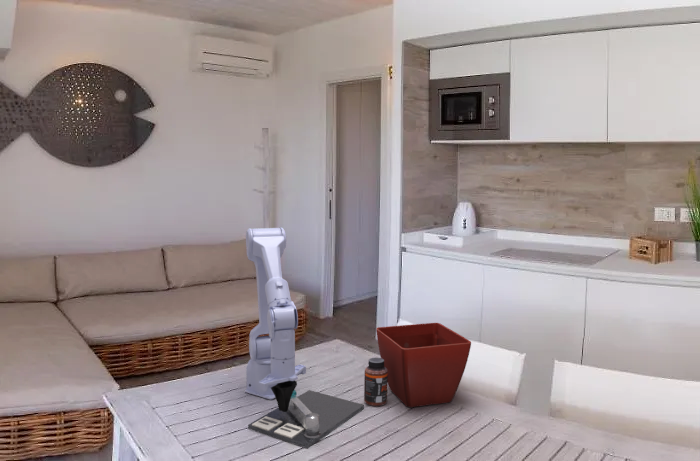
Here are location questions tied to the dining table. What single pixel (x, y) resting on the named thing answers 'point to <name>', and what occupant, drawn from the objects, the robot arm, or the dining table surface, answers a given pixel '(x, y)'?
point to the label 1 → (267, 423)
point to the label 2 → (289, 430)
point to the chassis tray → (326, 406)
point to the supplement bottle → (375, 382)
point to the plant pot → (423, 362)
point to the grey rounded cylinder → (312, 426)
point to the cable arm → (298, 409)
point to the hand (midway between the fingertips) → (283, 410)
